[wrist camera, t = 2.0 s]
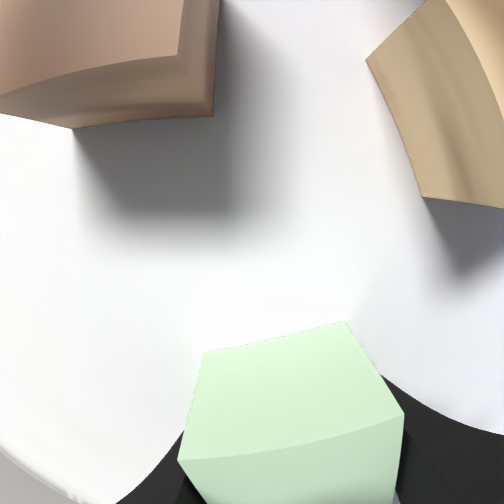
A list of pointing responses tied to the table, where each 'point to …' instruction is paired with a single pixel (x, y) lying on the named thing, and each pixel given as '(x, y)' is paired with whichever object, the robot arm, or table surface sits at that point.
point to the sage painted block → (293, 423)
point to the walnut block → (107, 60)
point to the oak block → (449, 97)
